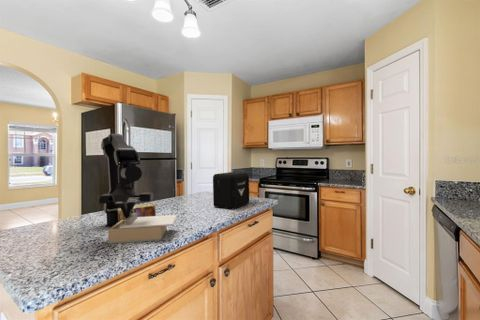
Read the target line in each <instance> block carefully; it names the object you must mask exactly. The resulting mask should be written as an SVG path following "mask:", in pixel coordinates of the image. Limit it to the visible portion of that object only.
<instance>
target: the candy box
mask: <svg viewBox="0 0 480 320" xmlns="http://www.w3.org/2000/svg"><path fill="white" fill-rule="evenodd" d="M133 213H137V217H149V216H157V214H156V204H152V203H151V204H146V205H145V204H144V205H137V206H136V205H135V206H134V207H133V210H132V212H131V215H132V214H133ZM131 215H130V216H131ZM121 220H126V219H125V216H124V214H123V212H122V210H121V208H119V209H118V222H120V221H121Z"/></svg>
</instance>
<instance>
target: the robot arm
mask: <svg viewBox="0 0 480 320" xmlns="http://www.w3.org/2000/svg"><path fill="white" fill-rule="evenodd" d="M100 143H101V144H100V147H101V150H102V153H103V155H104V156H105V158H106V159H107V171H108V173H107V174H108V188H109V191H108V192H107V193H104V194H102V195H101V194H100V195H99V196H98V198H97V203H98V205H99V204H101V205H102V204H103V212H104V213H105V214H106V224H105V226H104V227H113V226H114V225H116V224H117V223H118V209H119V208H121V210H122V212H123V214H124V216H125V219H126V220H127V218H128V217H129V216H130V215H131V212H132V210H133V207H135V206H136V204H137V203H139V201H140V202H142V203H143V202H144V203H146V202H151V201H153V200H154V193H153V192H152V191H151V192H145V191H144V192H142V193H140V194H136V189H135V188H136V186H135V185H136V182H137V181H139V180H140V179H141V178H142V174H143V172H142V169H141V168H140V166H137V165H140V164H141V159H140V156H139V153H138V151H137V149H136V148H135V147H133V146H132V145H128V144H127V143H126V141H125V139H124V138H123V135H122V134H121V133H110V134H109V133H108V136H105V137H104V138H102V140H101V142H100Z"/></svg>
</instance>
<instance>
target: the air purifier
mask: <svg viewBox="0 0 480 320" xmlns="http://www.w3.org/2000/svg"><path fill="white" fill-rule="evenodd" d="M212 192H213V193H212V195H213V196H212V197H213V199H212V200H213V202H212V203H213V207H215V208H219V209H220V208H222V209H229V210H234V209H238V208H241V207H243V206H246V205H248V204H249V203H250V175H249V174H248V172H236V171H235V172H232V171H231V172H222V173H221V172H220V173H215V174H213V176H212Z"/></svg>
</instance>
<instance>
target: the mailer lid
mask: <svg viewBox="0 0 480 320" xmlns="http://www.w3.org/2000/svg"><path fill="white" fill-rule="evenodd" d="M177 218H178V214H171V215H156V216H149V217H137V213H133V214H132V215H131V216H129V217H128V218H127V222H125V223H124V224H123V225H122V226H120V229H121V228H138V227H154V226H167V227H169V226H174V223H175V222H176V219H177Z"/></svg>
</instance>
